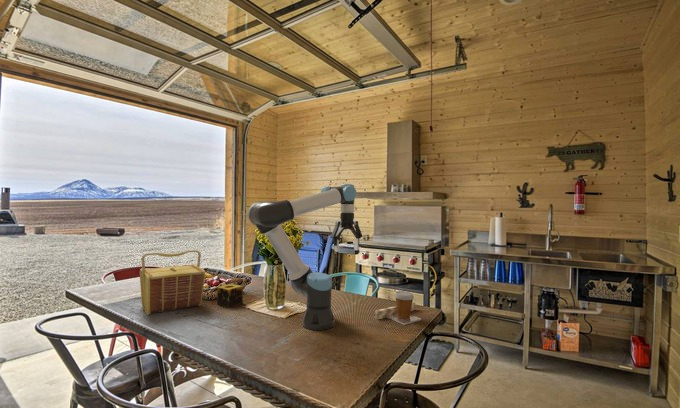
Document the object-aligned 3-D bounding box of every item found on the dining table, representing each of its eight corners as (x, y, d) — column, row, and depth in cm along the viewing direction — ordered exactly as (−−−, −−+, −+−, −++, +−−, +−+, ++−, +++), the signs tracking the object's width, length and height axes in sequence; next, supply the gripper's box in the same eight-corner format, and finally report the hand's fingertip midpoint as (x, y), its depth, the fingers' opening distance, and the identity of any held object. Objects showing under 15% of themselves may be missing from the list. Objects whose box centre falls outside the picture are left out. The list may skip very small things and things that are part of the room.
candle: (243, 303, 184) (243, 286, 184) (228, 308, 176) (228, 289, 176) (231, 300, 190) (231, 283, 190) (216, 304, 181) (216, 286, 181)
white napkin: (404, 325, 155) (404, 323, 155) (386, 317, 164) (386, 315, 164) (421, 320, 162) (421, 318, 162) (403, 313, 171) (403, 311, 171)
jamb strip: (377, 319, 161) (377, 311, 161) (374, 318, 163) (374, 310, 163) (415, 310, 178) (415, 302, 178) (412, 309, 179) (412, 301, 179)
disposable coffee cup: (415, 320, 158) (415, 296, 158) (395, 320, 159) (396, 295, 159) (411, 314, 168) (411, 291, 168) (392, 313, 168) (393, 290, 168)
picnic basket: (144, 319, 156) (145, 256, 156) (136, 305, 176) (137, 250, 176) (206, 308, 175) (208, 252, 175) (193, 297, 195) (194, 247, 195)
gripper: (360, 212, 189) (359, 248, 188) (324, 212, 174) (323, 251, 174) (368, 212, 183) (368, 250, 182) (332, 212, 168) (331, 253, 168)
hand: (346, 250), depth 178 cm, fingers open, 13 cm apart
